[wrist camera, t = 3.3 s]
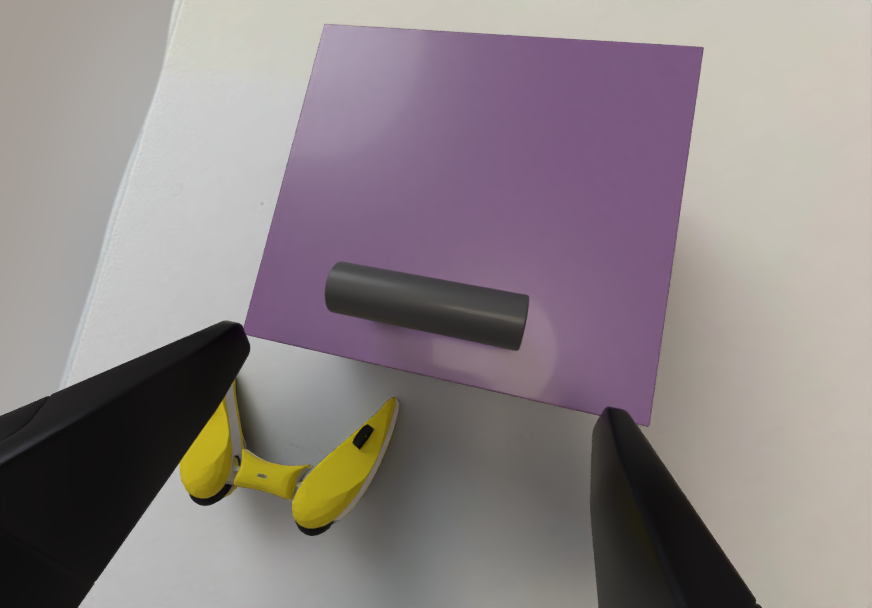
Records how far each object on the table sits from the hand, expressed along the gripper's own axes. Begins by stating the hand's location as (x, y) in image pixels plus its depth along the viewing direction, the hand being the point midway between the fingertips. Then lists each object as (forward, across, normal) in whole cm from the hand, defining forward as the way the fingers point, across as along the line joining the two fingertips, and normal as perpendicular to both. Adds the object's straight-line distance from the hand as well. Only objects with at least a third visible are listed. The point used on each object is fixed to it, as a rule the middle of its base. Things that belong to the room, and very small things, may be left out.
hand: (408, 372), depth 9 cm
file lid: (+6, 0, -2) cm, 7 cm away
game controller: (+3, +7, +11) cm, 13 cm away
